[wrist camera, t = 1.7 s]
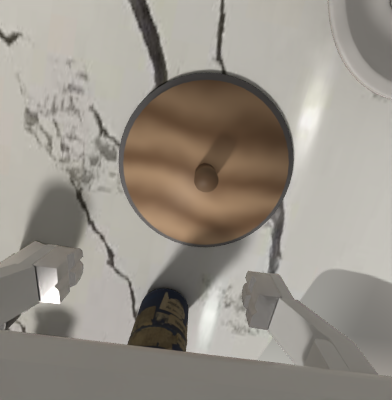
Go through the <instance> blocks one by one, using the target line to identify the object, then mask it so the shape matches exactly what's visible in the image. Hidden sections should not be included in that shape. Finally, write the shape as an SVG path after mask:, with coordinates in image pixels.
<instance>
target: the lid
mask: <svg viewBox="0 0 392 400" xmlns="http://www.w3.org/2000/svg"><path fill="white" fill-rule="evenodd" d="M123 166H124V176H125V182H126V186H127V189H128V192H129V194H130V197H131V199H132V201H133V203H134V204H135V206H136V208H137V209H138V211H139V212H140V213H141V214H142V216H143V217H144V218H145V219H146V220H147V221H148V222H149V223H150V224H151V225H152V226H154V227H155V228H156V229H158V230H159V231H160V232H162V233H164V234H166V235H167V236H169V237H172V238H174V239H176V240H179V241H183V242H186V243H192V244H202V245H207V244H218V243H223V242H227V241H231V240H233V239H236V238H238V237H241V236H243V235H244V234H246V233H248V232H250V231H251V230H253V229H254V228H255V227H257V226H258V225H259V224H260V223H261V222H262V221H264V220H265V219H266V217H267V216H268V215H269V214H270V213H271V212H272V210H273V209H274V207H275V206H276V204H277V203H278V201H279V199H280V197H281V195H282V192H283V190H284V187H285V184H286V179H287V175H288V166H289V158H288V148H287V142H286V139H285V136H284V133H283V130H282V128H281V126H280V124H279V122H278V120H277V118H276V117H275V115H274V114H273V112H272V111H271V110H270V109H269V108H268V106H267V105H266V104H265V103H264V102H263V101H262V100H260V99H259V98H258V97H257V96H255V95H254V94H253V93H251V92H249V91H247V90H246V89H244V88H242V87H239V86H237V85H234V84H232V83H228V82H223V81H217V80H197V81H191V82H187V83H182V84H180V85H177V86H175V87H172V88H170V89H168V90H167V91H165V92H163V93H161V94H160V95H159V96H157V97H156V98H155V99H153V100H152V101H151V102H150V103H149V104H148V105H147V106H146V107H145V108H144V109H143V110H142V112H141V113H140V114H139V116H138V117H137V119H136V120H135V122H134V124H133V126H132V128H131V130H130V132H129V135H128V138H127V141H126V145H125V150H124V160H123Z"/></svg>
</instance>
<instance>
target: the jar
mask: <svg viewBox="0 0 392 400" xmlns="http://www.w3.org/2000/svg"><path fill="white" fill-rule="evenodd" d="M44 246H45V244H42V243H40V242H38V241H33V242H32V243H30V244H29V245H27V246H26V247H24V248H23V249H21V250H20V251H18V252H17V253H14V254H12V255H11V256H9V257H8V258H6V259H5V260H3V261H2V262H0V268H2V267H5V266H8V265H12V264H19V263H20V262H22V261H23V260H25V259H26V258H28V257H29V256H31V255H32V254H33V253H35V252H36V251H38V250H39V249H41V248H42V247H44ZM28 310H29V309H28ZM28 310H26V311H24V312H23V313H21V314H19V315H18V316H16V317H14V318H13V319H11V320H9V321H7V322H6V323H4V324H2V325H1V326H0V330H7V329H8V328H9V327H10V326H11V325H12V324H13V323H14V322H15V321H16V320H17V319H18V318H19V316H20V315H22V314H24V313H25V312H27V311H28Z"/></svg>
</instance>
